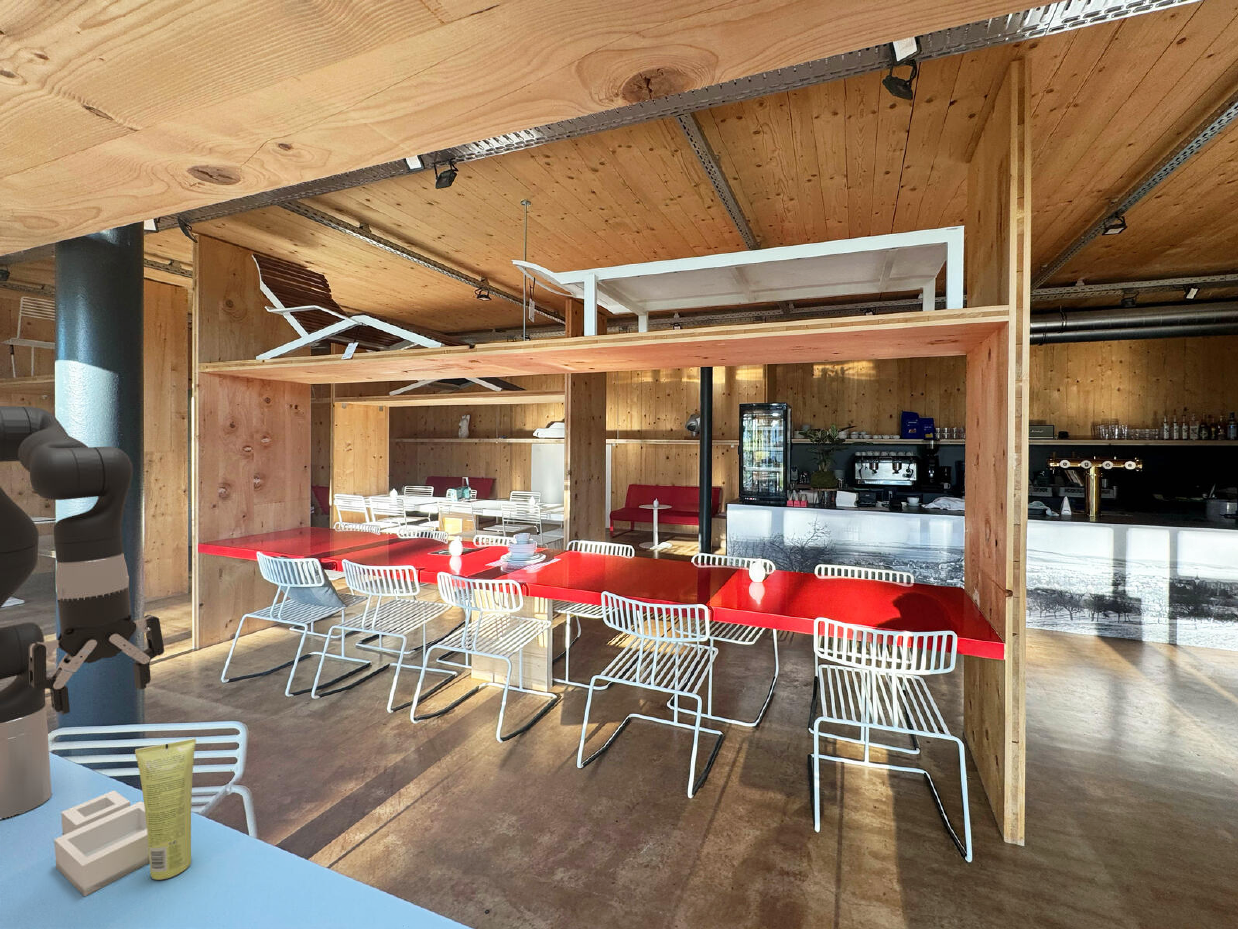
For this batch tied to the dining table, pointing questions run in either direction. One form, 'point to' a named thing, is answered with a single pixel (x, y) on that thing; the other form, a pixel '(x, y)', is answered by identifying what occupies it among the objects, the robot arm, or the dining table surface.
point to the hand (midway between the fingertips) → (104, 699)
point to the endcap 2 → (104, 849)
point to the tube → (167, 804)
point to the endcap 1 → (92, 811)
